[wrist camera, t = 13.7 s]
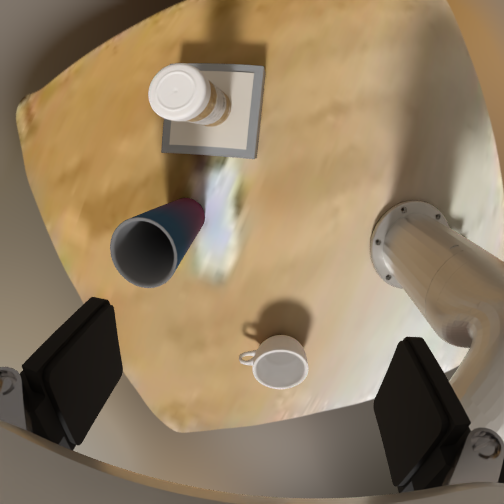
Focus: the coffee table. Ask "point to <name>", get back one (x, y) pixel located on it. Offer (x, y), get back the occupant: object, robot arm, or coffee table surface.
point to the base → (234, 127)
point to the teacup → (278, 362)
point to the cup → (156, 242)
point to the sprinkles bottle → (188, 96)
